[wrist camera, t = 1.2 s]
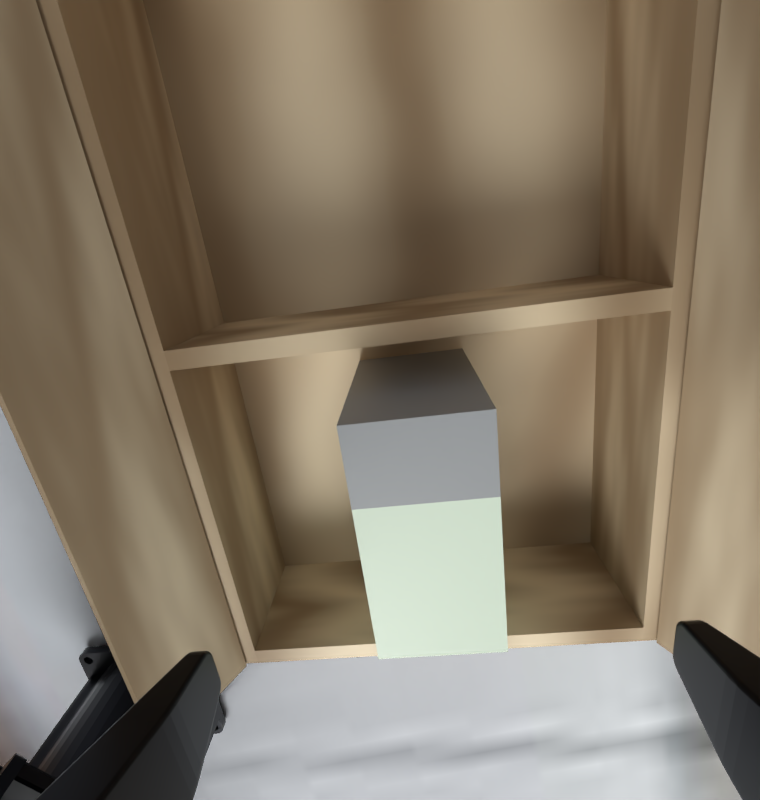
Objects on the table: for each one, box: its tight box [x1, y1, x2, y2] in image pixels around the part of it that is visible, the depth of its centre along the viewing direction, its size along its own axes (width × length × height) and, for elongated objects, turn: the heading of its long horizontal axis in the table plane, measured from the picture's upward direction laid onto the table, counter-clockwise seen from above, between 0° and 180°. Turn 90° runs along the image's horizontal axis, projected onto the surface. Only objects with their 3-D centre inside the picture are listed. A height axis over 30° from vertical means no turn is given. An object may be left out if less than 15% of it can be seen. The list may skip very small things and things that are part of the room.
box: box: [337, 348, 508, 659], centre depth 15 cm, size 4×8×6 cm, turn 8°
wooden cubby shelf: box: [0, 0, 760, 704], centre depth 13 cm, size 19×24×8 cm
